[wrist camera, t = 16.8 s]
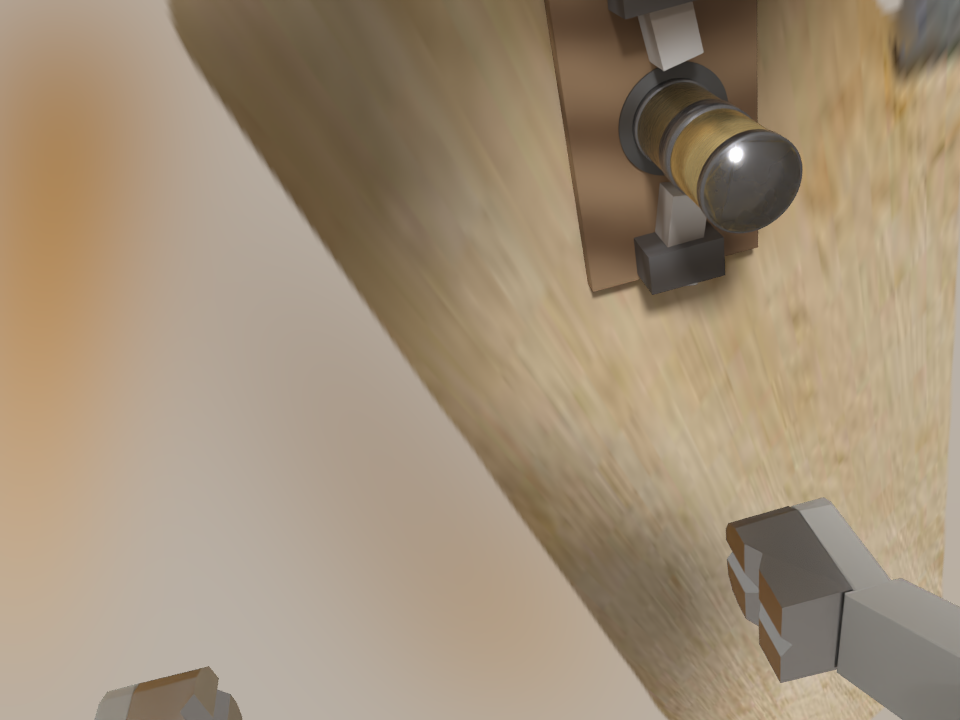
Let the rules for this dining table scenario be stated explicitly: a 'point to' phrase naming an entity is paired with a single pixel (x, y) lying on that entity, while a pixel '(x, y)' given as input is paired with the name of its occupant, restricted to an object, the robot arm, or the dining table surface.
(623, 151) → the board
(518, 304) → the dining table surface
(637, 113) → the yellow and grey cylinder
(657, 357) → the dining table surface
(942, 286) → the dining table surface
